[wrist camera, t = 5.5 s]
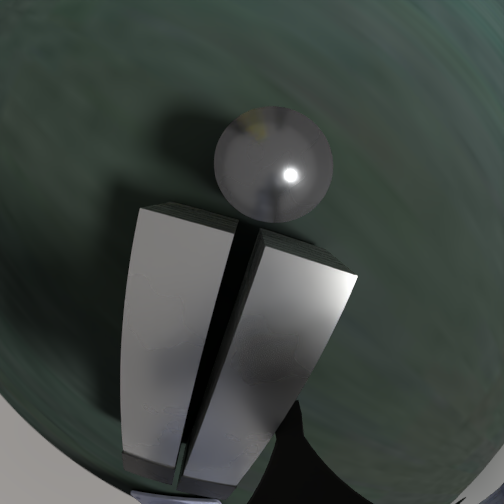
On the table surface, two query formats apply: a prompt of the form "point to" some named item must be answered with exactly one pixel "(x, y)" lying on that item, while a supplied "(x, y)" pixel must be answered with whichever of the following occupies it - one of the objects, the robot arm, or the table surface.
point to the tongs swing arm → (263, 358)
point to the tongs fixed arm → (202, 273)
